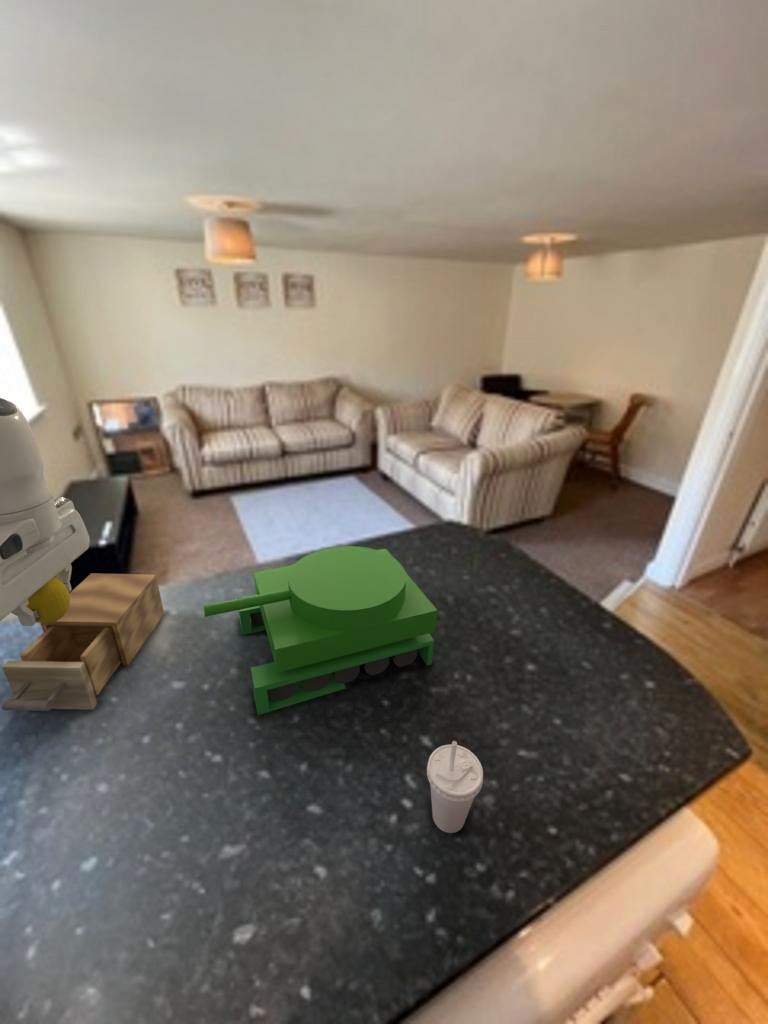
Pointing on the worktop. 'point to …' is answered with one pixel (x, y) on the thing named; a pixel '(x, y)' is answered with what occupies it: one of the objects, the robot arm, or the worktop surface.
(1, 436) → the robot arm
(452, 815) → the smoothie
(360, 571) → the tank
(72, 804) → the worktop surface
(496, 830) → the worktop surface
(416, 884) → the worktop surface
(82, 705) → the drawer
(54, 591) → the lemon
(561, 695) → the worktop surface
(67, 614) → the cabinet
